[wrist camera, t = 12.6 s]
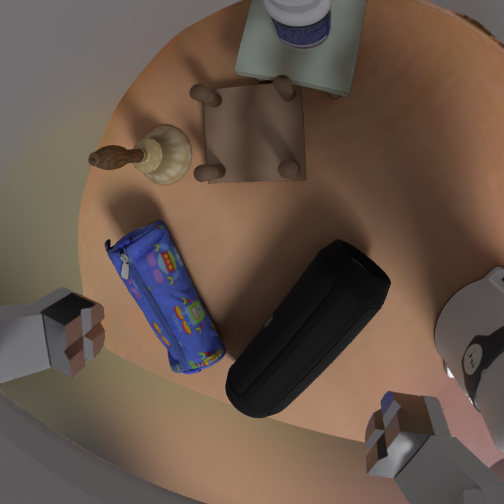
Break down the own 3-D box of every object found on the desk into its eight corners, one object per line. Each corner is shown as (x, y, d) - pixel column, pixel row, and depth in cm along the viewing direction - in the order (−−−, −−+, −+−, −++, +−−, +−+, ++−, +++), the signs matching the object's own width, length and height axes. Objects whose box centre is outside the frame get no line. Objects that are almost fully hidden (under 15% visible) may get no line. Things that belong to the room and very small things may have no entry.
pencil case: (126, 231, 47) (87, 248, 38) (170, 208, 44) (134, 221, 35) (191, 354, 51) (166, 389, 42) (236, 342, 48) (218, 380, 39)
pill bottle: (341, 35, 26) (346, -8, 17) (295, 61, 28) (283, 24, 19) (309, -2, 26) (301, -52, 16) (264, 22, 28) (241, -22, 18)
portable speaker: (329, 227, 41) (330, 248, 31) (388, 270, 40) (405, 301, 31) (230, 359, 49) (210, 399, 40) (282, 391, 49) (272, 434, 40)
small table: (360, 24, 32) (367, -3, 24) (344, 105, 36) (350, 93, 28) (269, 8, 34) (257, -20, 26) (250, 86, 37) (233, 71, 30)
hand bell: (189, 120, 40) (121, 106, 25) (195, 181, 42) (130, 195, 27) (136, 131, 42) (59, 127, 27) (142, 188, 44) (67, 205, 29)
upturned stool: (301, 85, 36) (296, 68, 29) (306, 179, 39) (302, 184, 32) (208, 93, 39) (184, 81, 31) (213, 182, 42) (189, 188, 34)
